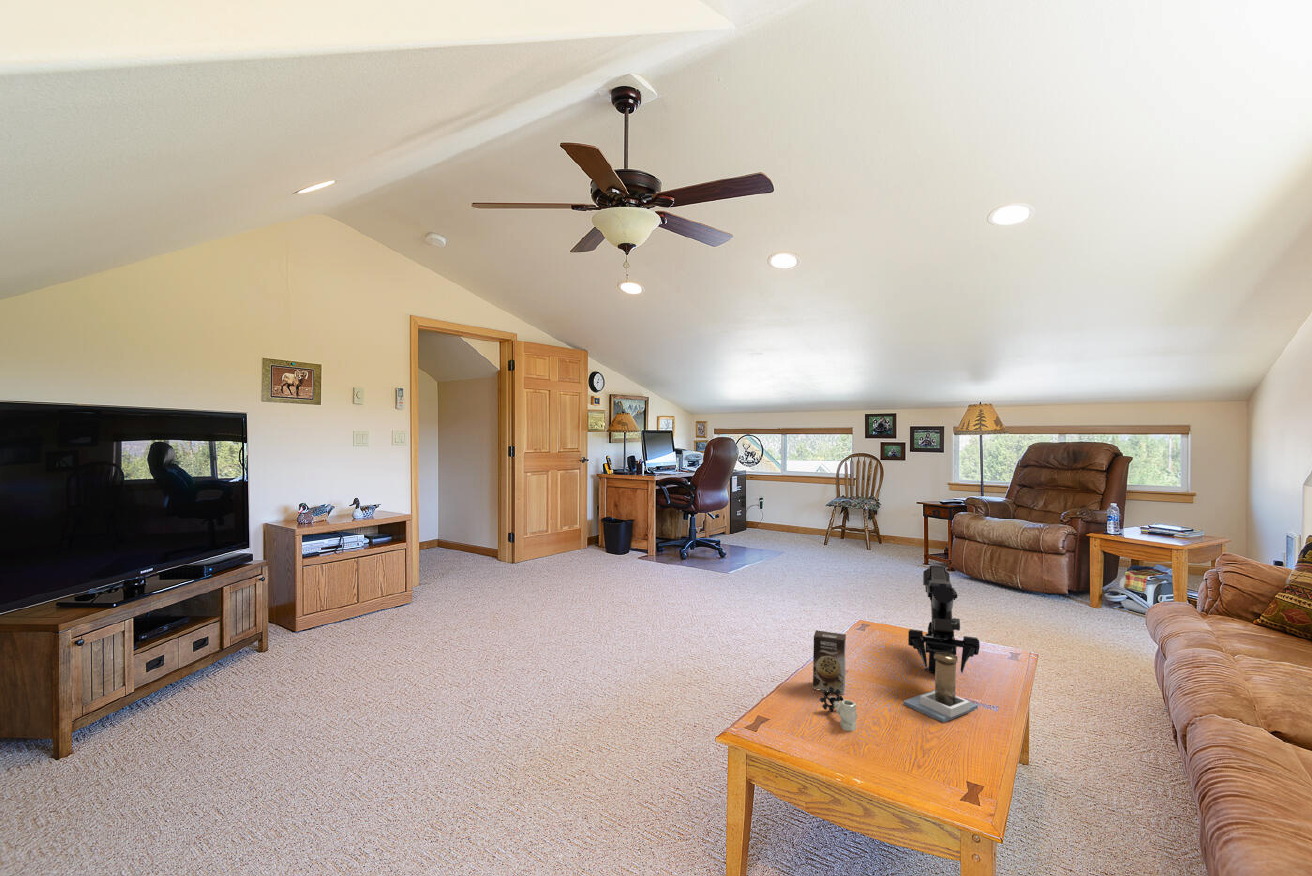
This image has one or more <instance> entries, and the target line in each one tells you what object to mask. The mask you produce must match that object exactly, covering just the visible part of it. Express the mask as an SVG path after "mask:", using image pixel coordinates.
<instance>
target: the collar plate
mask: <svg viewBox="0 0 1312 876" xmlns="http://www.w3.org/2000/svg"><path fill="white" fill-rule="evenodd" d="M902 702H903V703H902V704H903V706H905V707H907V708H910V709H912V710H915V711H916V712H919V713H921V714H923V715H926V716H928V717H930V718H932V719H934V720H936V721H938V722H941V723H943V724H944V723H947V722H949V721H951V720H954V719H957V718H958V717H961V716H964V715H966V714H968V713H971V712H973V711H976V710H978V709H979V705H978V704H976V703H975V702H971V701H970V700H967V699H965V698H962V697H960V696H958V695H955V705H953V706H950V707H949V706H947V705H944V704H942V703H940V702H937V701H935V689H933V690H931V691H927V692H925V693H923V694H919V695H916V696H914V697H910V698H907V699H905V700H903V701H902ZM977 708H978V709H977ZM975 709H976V710H975Z"/></svg>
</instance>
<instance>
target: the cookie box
mask: <svg viewBox="0 0 1312 876" xmlns="http://www.w3.org/2000/svg"><path fill="white" fill-rule="evenodd" d="M846 638H847V634H845V633H838V632H832V631H824V630H818V629H816V630H815V632H814V635H813V653H812V654H813V655H812V657H813V663H812V670H813V672H812V689H813V688H815V689H820V690H826V691H829V687H833V688H834V690H833V691H836V690H837V689H838V690H840V691H841V694H840V695H843V696H844V695H845V690H846V653H847V651H846V647H847V646H846V645H847V642H846V641H847V639H846Z"/></svg>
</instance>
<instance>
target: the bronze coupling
mask: <svg viewBox="0 0 1312 876" xmlns="http://www.w3.org/2000/svg"><path fill="white" fill-rule="evenodd" d="M934 659H936V667H935V673H934V675H935V680H934V682H935V683H934V686H935V687H934V690H935V701H937V702H940V703H942V704H944V705H947V706H949V707H950V706H953V705H955V696H956V688H957V687H956V682H957V681H956V680H957V678H956V675H957V674H956V671H957V670H956V669H957V663H958V661H959V660H958V656H957V655H953V654H950V653H946V652H936V653H934Z"/></svg>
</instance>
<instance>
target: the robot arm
mask: <svg viewBox="0 0 1312 876" xmlns="http://www.w3.org/2000/svg"><path fill="white" fill-rule="evenodd" d="M950 577H951V576H950V573H949V571H947V570H946V566H943V565H937V564H936V565H935V564H930V565H928V568H927V569H925V570H923V574H922V586H924V587H925V590H924V591H925V592H926V593H927V595H926V596H927V598H929V601H930V609H931V611H930V612H931V614H930V615H931V621H930V622H929V623H928V627H927V633H925V635H924V632H923V630H920V629H919V630H918V629H912V628H911V629H909V630H908V631H907V632H908V639H907V640H908V643H907V644H908V646H910V647H912V648H913V649H915V650H917V652H918V654H919V656H920V657H921V660H922V662H923V665H924V667H925V668H924V670H925V671H927V672H929V673H932V674H935V667H936V659H934V653H936V652H946V653H950V654H953V655H955V656H957V648H962V651H961V661H960V673H961V674H963V672H964V669H965V666H966V664H967V662H968V660H969V659H970V657H971V658H973V657H974V656H978V655H979V653H980V647H981V646H980V640H979V639H978V638H977V637H976V636H975V637H974V636H967V635H964V636H963V638H962V640H960V639H955V631H960V630H961V622H960V621H961V619H960V618H954V617H953V607H954V601H956V599H958V593H957V591H956V589H955V587H953V586H952V583H951V579H950ZM927 653H928V659H927ZM927 661H928V662H927Z"/></svg>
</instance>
